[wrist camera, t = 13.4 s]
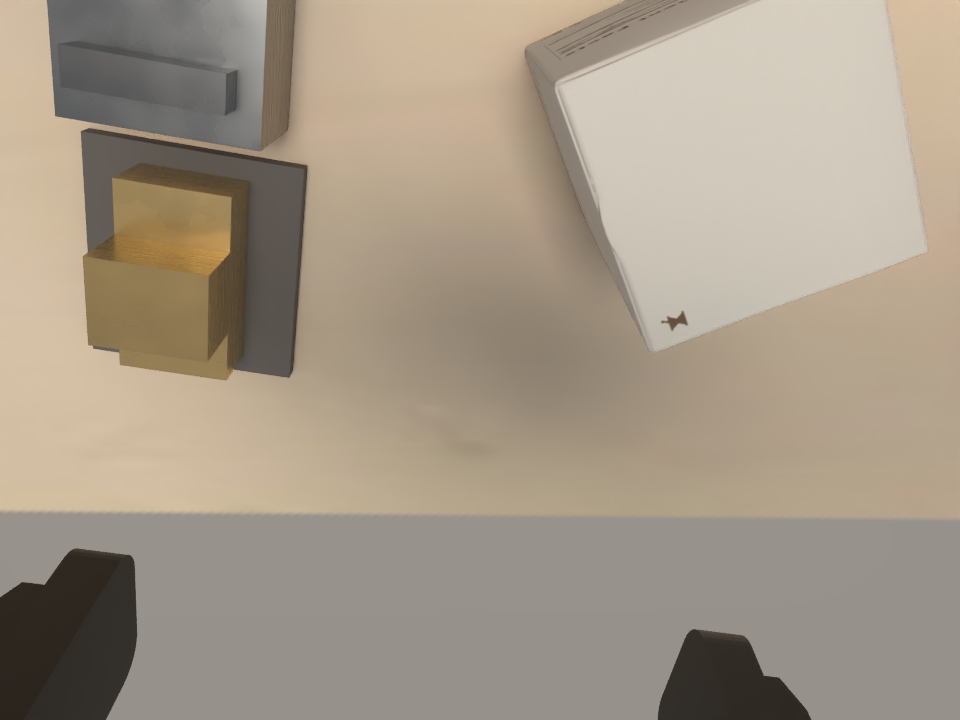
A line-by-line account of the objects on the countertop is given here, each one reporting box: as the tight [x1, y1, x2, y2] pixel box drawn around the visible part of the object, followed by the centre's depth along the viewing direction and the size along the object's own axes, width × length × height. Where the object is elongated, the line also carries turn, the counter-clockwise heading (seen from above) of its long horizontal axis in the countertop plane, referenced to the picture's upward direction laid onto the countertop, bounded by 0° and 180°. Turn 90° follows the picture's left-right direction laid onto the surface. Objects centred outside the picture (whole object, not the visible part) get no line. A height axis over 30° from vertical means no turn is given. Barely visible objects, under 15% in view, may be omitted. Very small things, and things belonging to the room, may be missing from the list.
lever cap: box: [83, 163, 250, 380], centre depth 34 cm, size 5×9×6 cm, turn 170°
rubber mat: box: [81, 128, 307, 378], centre depth 38 cm, size 10×11×1 cm
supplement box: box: [525, 0, 928, 353], centre depth 28 cm, size 9×9×15 cm
